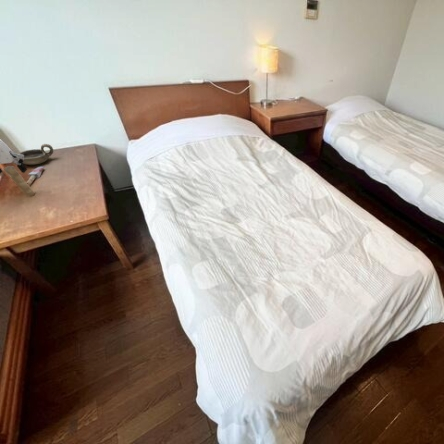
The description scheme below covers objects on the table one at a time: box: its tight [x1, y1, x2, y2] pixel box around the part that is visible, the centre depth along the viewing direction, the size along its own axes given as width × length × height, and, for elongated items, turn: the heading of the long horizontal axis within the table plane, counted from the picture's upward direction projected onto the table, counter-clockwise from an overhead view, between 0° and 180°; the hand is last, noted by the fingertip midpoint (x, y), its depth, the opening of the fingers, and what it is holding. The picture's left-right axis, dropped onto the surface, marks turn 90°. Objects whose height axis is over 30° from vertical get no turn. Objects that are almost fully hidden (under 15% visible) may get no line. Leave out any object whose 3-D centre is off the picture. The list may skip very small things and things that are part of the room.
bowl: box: [16, 143, 54, 166], centre depth 146 cm, size 14×18×10 cm
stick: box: [3, 165, 36, 198], centre depth 122 cm, size 4×4×16 cm
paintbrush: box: [26, 165, 45, 187], centre depth 137 cm, size 4×3×20 cm
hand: (12, 172), depth 118 cm, fingers open, 9 cm apart
